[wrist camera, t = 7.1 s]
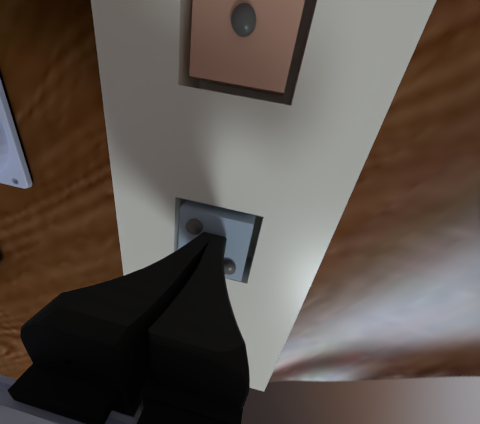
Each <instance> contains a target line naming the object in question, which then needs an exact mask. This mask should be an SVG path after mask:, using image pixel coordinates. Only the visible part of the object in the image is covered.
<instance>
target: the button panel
mask: <svg viewBox="0 0 480 424" xmlns="http://www.w3.org/2000/svg"><path fill="white" fill-rule="evenodd" d="M435 2H436V0H305V3H304V7H303V11H302V16H301V20H300V25H299V29H298V33H297V38H296V42H295V47H294V51H293V55H292V60H291V64H290V69H289V73H288V77H287V82H286V86H285V90H284V95H283V96H280V95H275V94H269V93H264V92H258V91H253V90H247V89H242V88H236V87H231V86H225V85H220V84H214V83H209V82H205V81H202V80H199V79H197V78H194V77H191V76H189V70H190V48H191V26H192V4H193V0H91V6H92V14H93V23H94V31H95V39H96V48H97V56H98V64H99V73H100V81H101V89H102V98H103V106H104V115H105V123H106V131H107V140H108V148H109V156H110V165H111V173H112V181H113V190H114V198H115V206H116V215H117V223H118V232H119V240H120V248H121V257H122V265H123V273H124V275H127V274H130V273H132V272H135V271H137V270H140V269H142V268H145V267H147V266H149V265H151V264H153V263H155V262H157V261H159V260H161V259H163V258H165V257H166V256H168V255H170V254H171V253H173V252H175V251H176V250H178V239H179V212H180V207H181V206H182V205H183V204H184V203H185V202H186V201H187V200H191V201H196V202H200V203H205V204H209V205H213V206H218V207H222V208H227V209H231V210H235V211H240V212H244V213H249V214H253V215H256V218H255V222H254V227H253V231H252V236H251V240H250V244H249V249H248V253H247V258H246V262H245V266H244V271H243V275H242V280H241V281H237V280H233V279H230V278H226V277H225V280H226V286H227V291H228V295H229V299H230V303H231V306H232V310H233V313H234V316H235V319H236V322H237V324H238V327H239V329H240V332H241V334H242V337H243V339H244V341H245V344H246V351H247V357H248V364H249V375H250V388H253V389H257V390H261V391H264V390H265V388H266V386H267V384H268V381H269V379H270V377H271V375H272V372H273V370H274V368H275V365H276V363H277V361H278V359H279V356H280V354H281V352H282V350H283V347H284V345H285V343H286V340H287V338H288V336H289V334H290V331H291V329H292V327H293V325H294V322H295V320H296V318H297V316H298V313H299V311H300V309H301V306H302V304H303V302H304V300H305V297H306V295H307V293H308V291H309V288H310V286H311V284H312V281H313V279H314V277H315V275H316V272H317V270H318V268H319V266H320V263H321V261H322V259H323V256H324V254H325V252H326V250H327V247H328V245H329V243H330V241H331V238H332V236H333V234H334V232H335V229H336V227H337V225H338V222H339V220H340V218H341V216H342V213H343V211H344V209H345V207H346V204H347V202H348V200H349V197H350V195H351V193H352V191H353V188H354V186H355V184H356V182H357V179H358V177H359V175H360V172H361V170H362V168H363V166H364V163H365V161H366V159H367V157H368V154H369V152H370V150H371V148H372V145H373V143H374V141H375V138H376V136H377V134H378V132H379V129H380V127H381V125H382V123H383V120H384V118H385V116H386V113H387V111H388V109H389V107H390V104H391V102H392V100H393V98H394V95H395V93H396V91H397V88H398V86H399V84H400V82H401V79H402V77H403V75H404V73H405V70H406V68H407V66H408V64H409V61H410V59H411V57H412V54H413V52H414V50H415V48H416V45H417V43H418V41H419V39H420V36H421V34H422V32H423V29H424V27H425V25H426V23H427V20H428V18H429V16H430V14H431V11H432V9H433V7H434V4H435Z"/></svg>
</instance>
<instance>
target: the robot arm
mask: <svg viewBox="0 0 480 424" xmlns="http://www.w3.org/2000/svg"><path fill="white" fill-rule="evenodd" d="M0 183H3V184H7V185H11V186H15V187H20V188H24V189H26V188H29V187H31V186H32V181H31V177H30V174H29V171H28V167H27V164H26V161H25V158H24V154H23V151H22V148H21V144H20V141H19V138H18V135H17V131H16V128H15V125H14V121H13V118H12V115H11V112H10V108H9V105H8V102H7V99H6V95H5V92H4V89H3V85H2V82H1V79H0ZM226 241H227V239H226V237H223V236H219V235H215V234H211V233H207V232H203V233H201V234H200V235H198V236H197V237H196V238H194V239H193V240H191V241H190V242H188V243H187V244H186V245H184V246H182V247H181V248H179V249H178V250H176V251H175V252H173V253H171V254H170V255H168V256H166V257H165V258H163V259H161V260H159V261H157V262H155V263H153V264H151V265H149V266H147V267H145V268H142V269H140V270H137V271H135V272H132V273H130V274H127V275H124V276H122V277H119V278H116V279H113V280H110V281H106V282H103V283H100V284H96V285H93V286H89V287H84V288H80V289H76V290H72V291H68V292H63V293H61V294H60V295H58V296H57V297H56V298H55V299H54V300H52V301H51V302H50V303H49V304H47V305H46V306H45V307H44V308H43V309H42V310H40V311H39V312H38V313H37V314H36V315H34V316H33V317H32V318H31V319H30V320H28V321H27V322H26V323H25V324H24V325H23V326H22V327H21V335H20V336H21V339H22V342H23V344H24V346H25V348H26V350H27V352H28V354H29V356H30V358H31V360H32V362H33V364H32V365H31V366H30V367H29V368H28V369H27V370H26V371H25V372H24V373H23V374H22V376H21V377H20V378H19V379H18V380H16V379H12V378H9V377H6V376H3V375H0V424H241V419H242V411H243V406H244V404H245V401H246V398H247V396H248V393H249V387H250V375H249V364H248V357H247V351H246V344H245V341H244V339H243V337H242V334H241V332H240V329H239V327H238V324H237V322H236V319H235V316H234V313H233V310H232V306H231V303H230V299H229V295H228V291H227V286H226V280H225V273H224V254H225V248H226Z"/></svg>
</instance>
